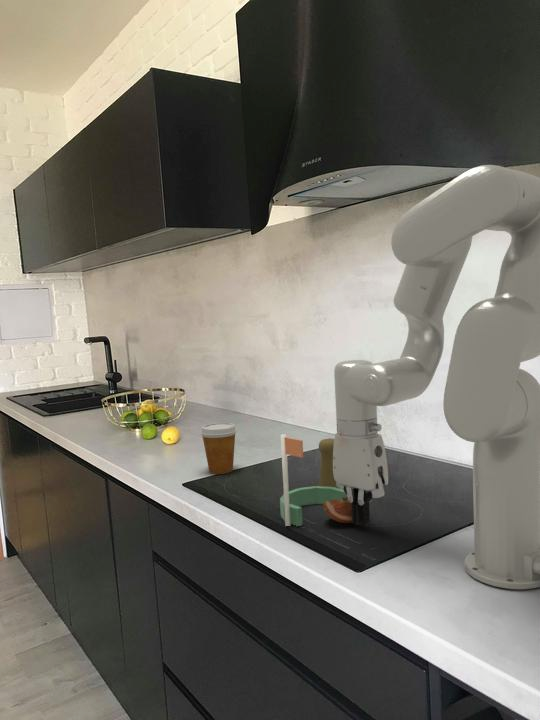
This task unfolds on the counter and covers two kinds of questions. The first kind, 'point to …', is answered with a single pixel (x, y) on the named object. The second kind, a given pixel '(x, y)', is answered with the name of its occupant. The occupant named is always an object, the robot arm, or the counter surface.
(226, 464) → the disposable coffee cup
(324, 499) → the green segmented arc
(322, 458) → the cork
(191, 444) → the counter surface
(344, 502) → the fruit slice
